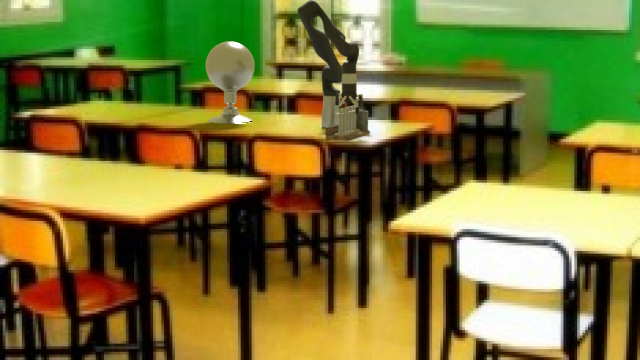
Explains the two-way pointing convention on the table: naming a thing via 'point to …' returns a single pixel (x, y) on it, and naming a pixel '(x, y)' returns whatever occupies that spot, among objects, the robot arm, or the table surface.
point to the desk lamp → (230, 76)
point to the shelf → (360, 124)
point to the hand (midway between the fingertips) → (349, 114)
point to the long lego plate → (347, 121)
